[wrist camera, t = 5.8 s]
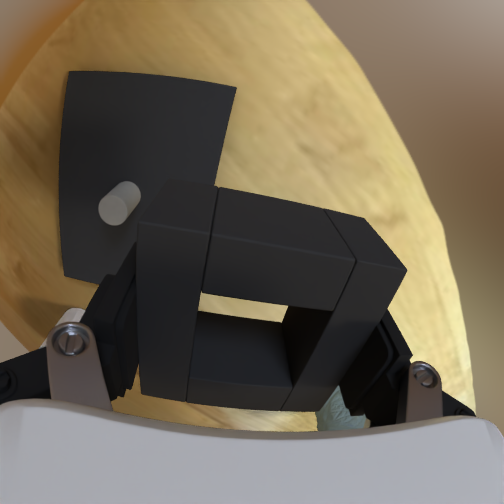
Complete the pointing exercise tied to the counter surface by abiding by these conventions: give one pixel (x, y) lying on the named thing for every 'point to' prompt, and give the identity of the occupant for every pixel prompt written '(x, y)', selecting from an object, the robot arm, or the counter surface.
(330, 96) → the counter surface
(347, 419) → the grey green embossed cup
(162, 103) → the base pad
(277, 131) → the counter surface
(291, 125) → the counter surface
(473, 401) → the counter surface
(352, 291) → the black square frame
